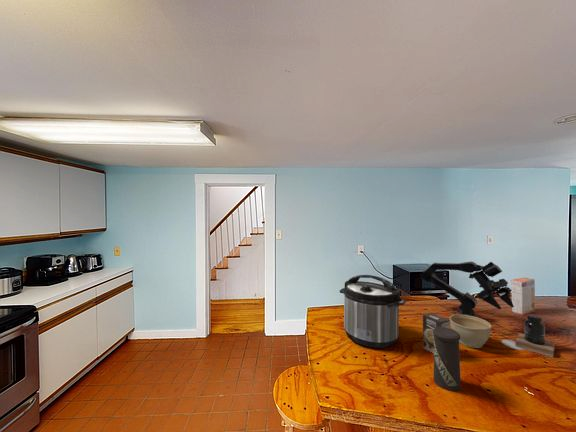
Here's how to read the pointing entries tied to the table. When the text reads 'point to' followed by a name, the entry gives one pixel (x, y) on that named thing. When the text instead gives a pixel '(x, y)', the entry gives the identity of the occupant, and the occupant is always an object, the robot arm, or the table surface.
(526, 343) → the light brown block
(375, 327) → the pressure cooker
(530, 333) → the supplement bottle
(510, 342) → the grey coaster
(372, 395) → the table surface
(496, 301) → the robot arm
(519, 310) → the cracker box
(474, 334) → the planter bowl
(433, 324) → the coffee box
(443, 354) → the container
